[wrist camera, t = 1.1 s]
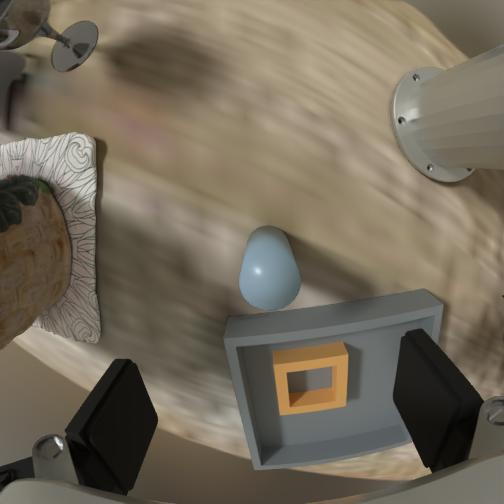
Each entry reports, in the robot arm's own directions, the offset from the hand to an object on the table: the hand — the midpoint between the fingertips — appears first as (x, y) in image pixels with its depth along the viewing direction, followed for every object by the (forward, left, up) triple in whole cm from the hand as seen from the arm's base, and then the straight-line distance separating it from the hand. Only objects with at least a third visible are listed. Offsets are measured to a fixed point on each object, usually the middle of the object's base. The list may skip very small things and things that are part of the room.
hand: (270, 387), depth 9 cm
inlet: (-3, +15, -20) cm, 26 cm away
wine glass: (+19, -27, -21) cm, 39 cm away
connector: (0, 0, -20) cm, 20 cm away
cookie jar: (+30, -5, -21) cm, 37 cm away
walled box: (-6, +18, -20) cm, 28 cm away
